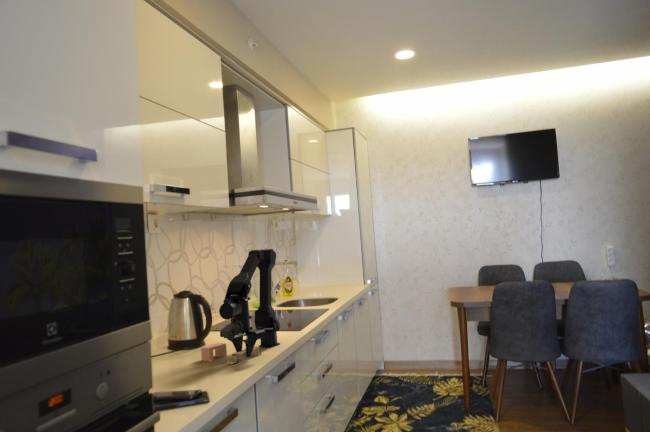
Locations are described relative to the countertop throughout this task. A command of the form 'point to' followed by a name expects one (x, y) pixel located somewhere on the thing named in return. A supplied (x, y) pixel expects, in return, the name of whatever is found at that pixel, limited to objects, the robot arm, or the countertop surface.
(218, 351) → the pink bridge block
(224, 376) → the countertop surface
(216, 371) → the countertop surface
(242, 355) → the tan long bar
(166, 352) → the countertop surface
